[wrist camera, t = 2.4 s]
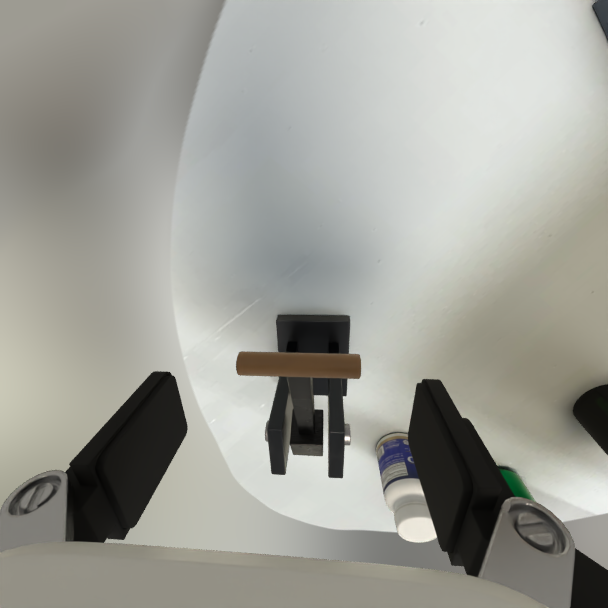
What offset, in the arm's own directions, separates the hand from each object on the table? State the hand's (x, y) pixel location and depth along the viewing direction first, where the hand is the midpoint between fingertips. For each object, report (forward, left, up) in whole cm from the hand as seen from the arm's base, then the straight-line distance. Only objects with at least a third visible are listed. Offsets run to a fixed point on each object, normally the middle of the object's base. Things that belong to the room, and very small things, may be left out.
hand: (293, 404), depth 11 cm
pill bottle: (+23, -7, -17) cm, 29 cm away
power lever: (+3, -3, -6) cm, 7 cm away
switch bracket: (+6, -6, -17) cm, 19 cm away
